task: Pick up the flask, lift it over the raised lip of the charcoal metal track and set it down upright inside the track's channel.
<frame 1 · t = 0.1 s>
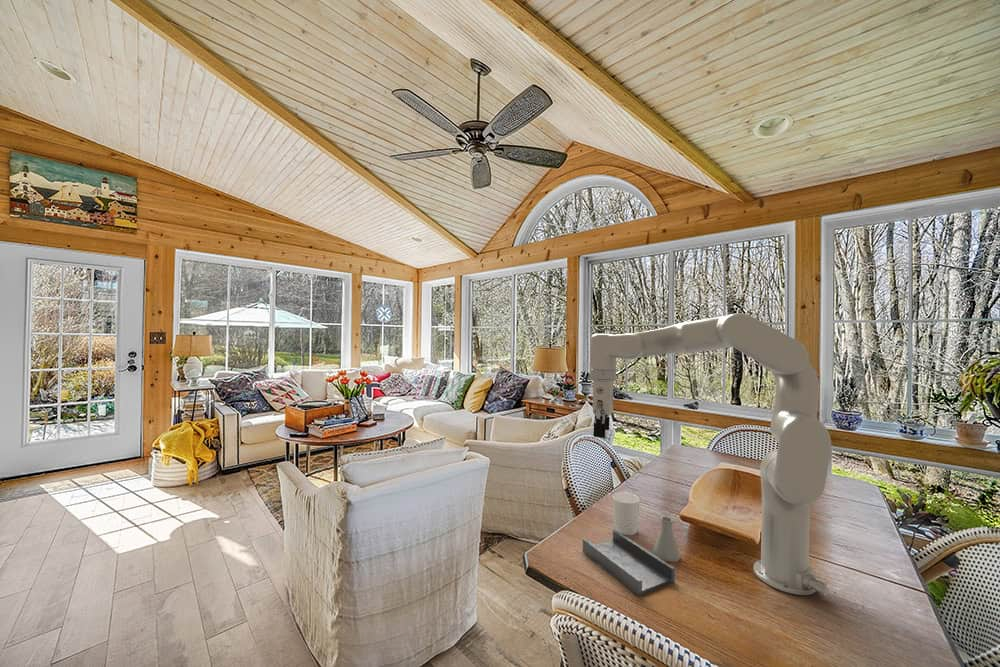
hand: (601, 433, 113), 31 cm above the table, tool pointing down, fingers open, 9 cm apart
flask: (666, 556, 105), on the table
white cup: (625, 530, 119), on the table
track: (625, 566, 100), on the table
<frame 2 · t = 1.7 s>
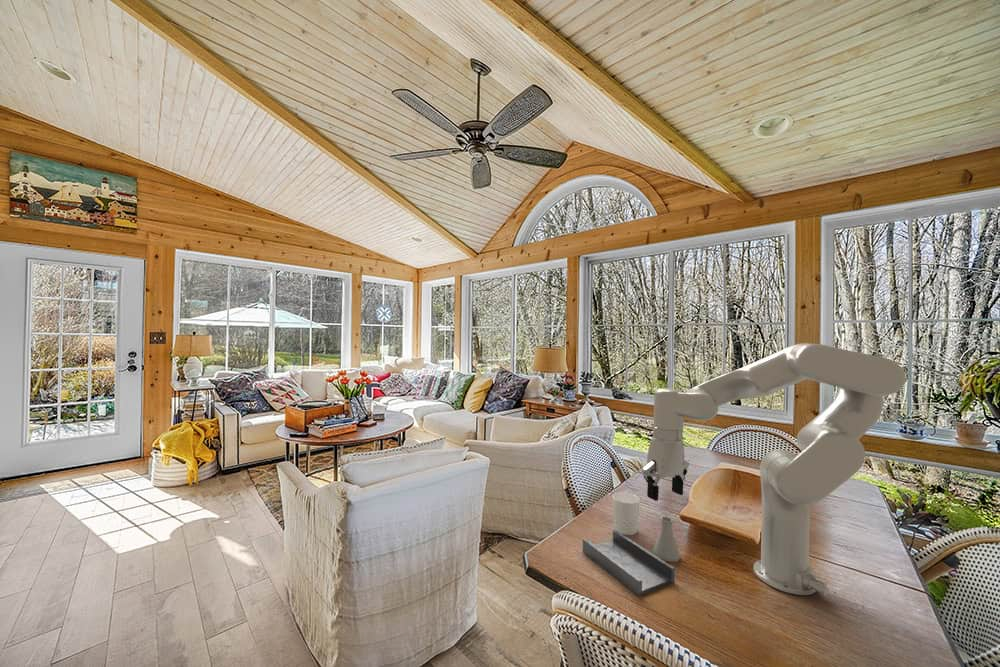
hand: (665, 495, 105), 16 cm above the table, tool pointing down, fingers open, 9 cm apart
nothing on the table moved.
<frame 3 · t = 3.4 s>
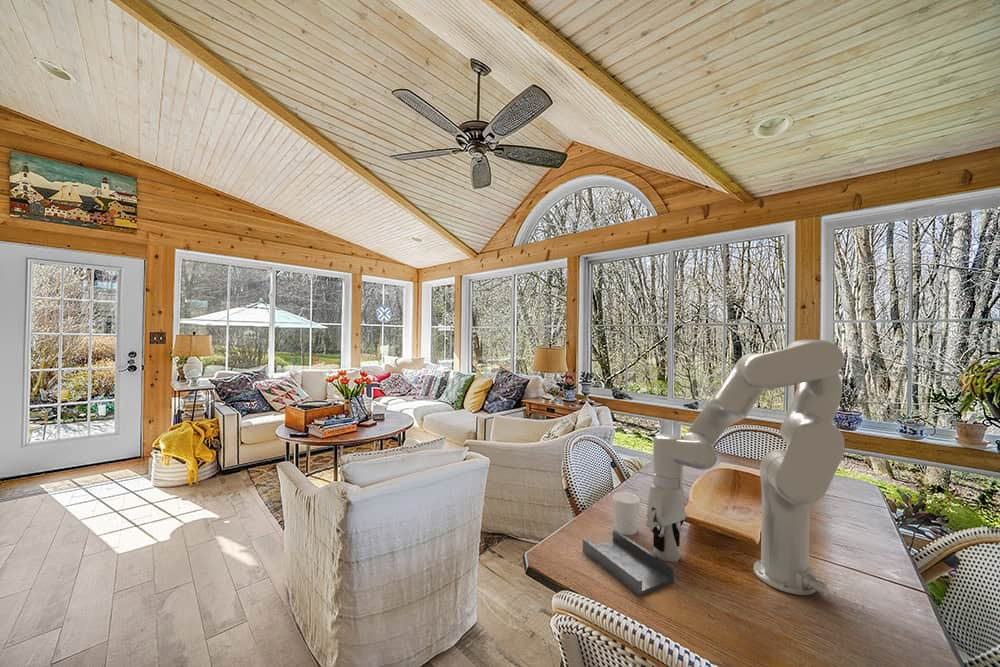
hand: (666, 545, 105), 3 cm above the table, tool pointing down, fingers closed on flask, 5 cm apart
flask: (666, 555, 105), on the table, touching gripper
everything else where it was.
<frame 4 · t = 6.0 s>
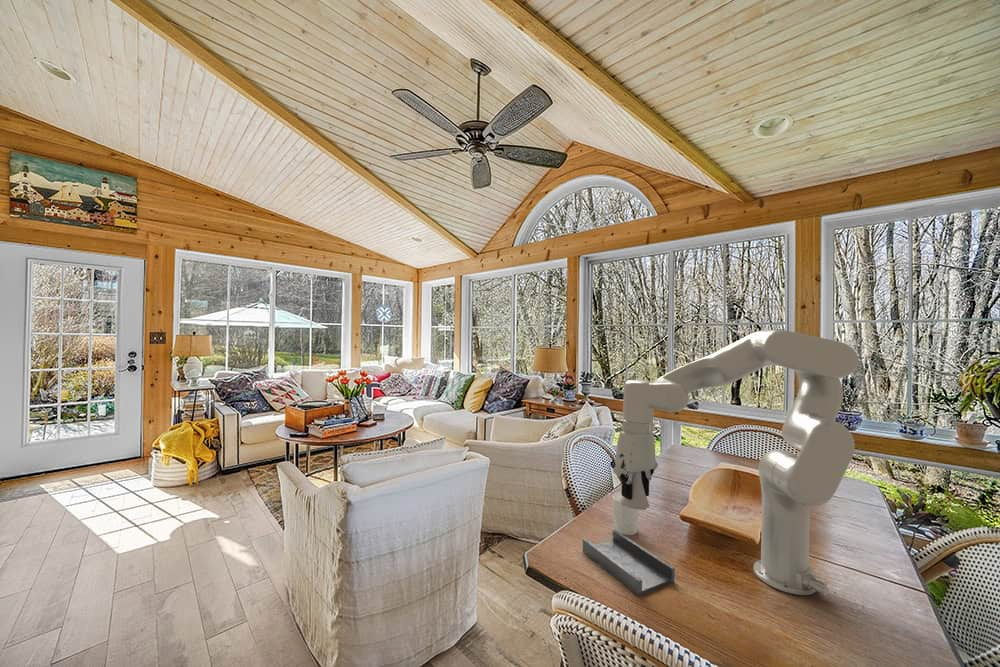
hand: (635, 495, 101), 18 cm above the table, tool pointing down, fingers closed on flask, 5 cm apart
flask: (634, 505, 101), point 15 cm above the table, touching gripper
everything else where it was.
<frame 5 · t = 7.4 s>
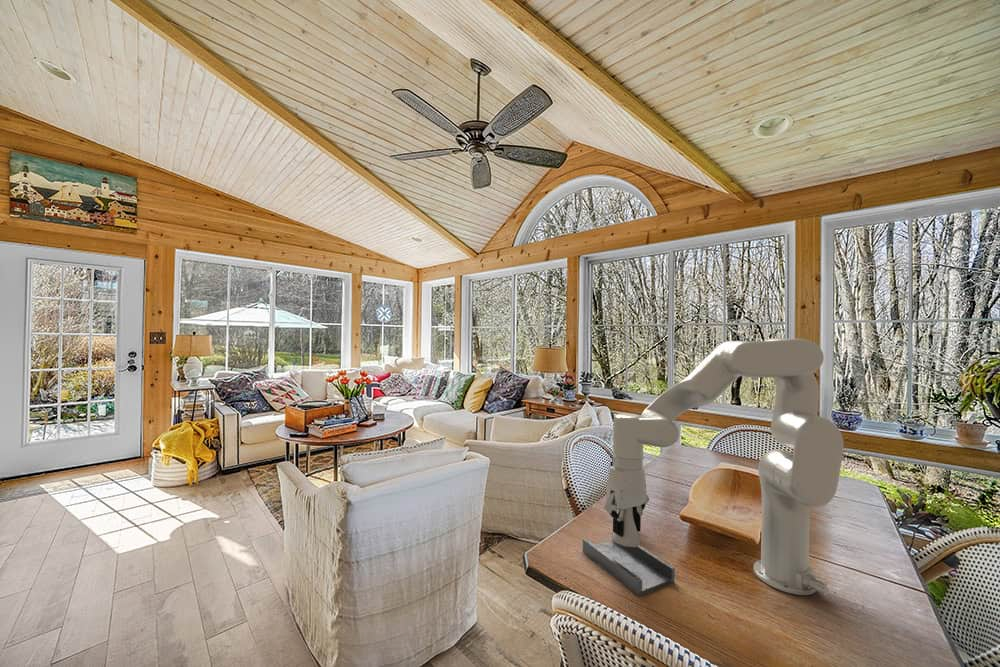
hand: (626, 531, 100), 9 cm above the table, tool pointing down, fingers closed on flask, 5 cm apart
flask: (626, 541, 100), point 6 cm above the table, touching gripper
everything else where it was.
when the fingers open (5 cm above the table, at t = 8.5 s): flask drops 2 cm, resting on track.
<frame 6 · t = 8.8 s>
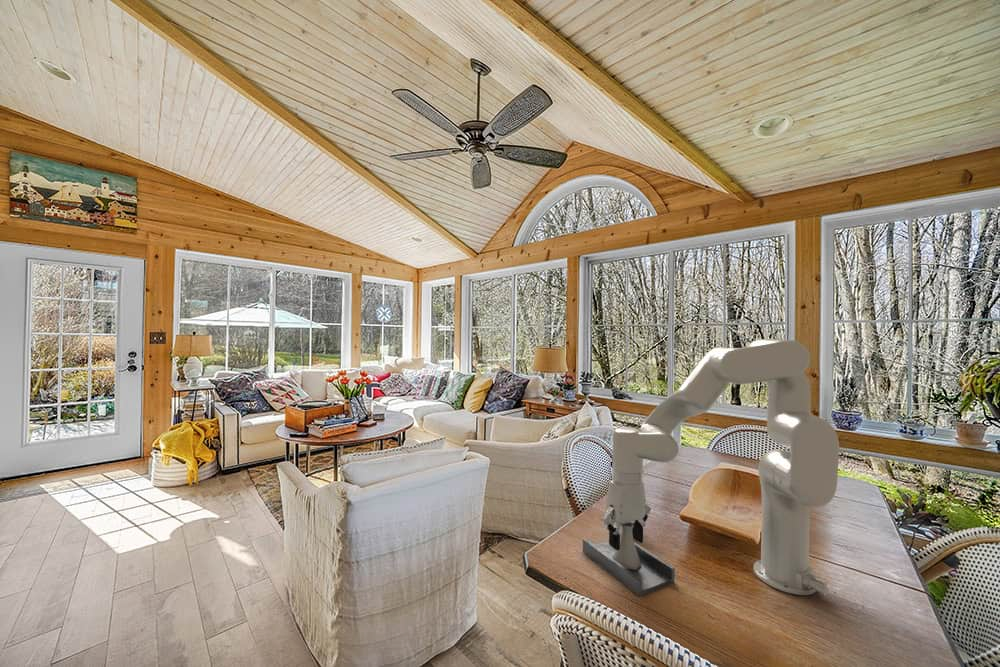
hand: (626, 543, 100), 6 cm above the table, tool pointing down, fingers open, 7 cm apart
flask: (626, 562, 100), point 1 cm above the table, touching track
everything else where it was.
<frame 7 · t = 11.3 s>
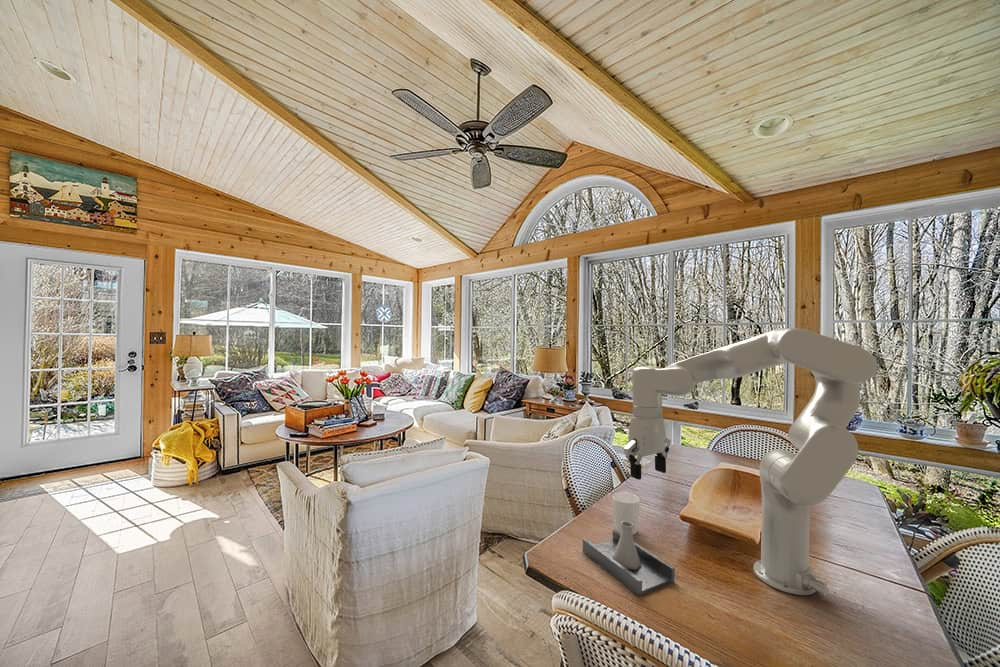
hand: (648, 474, 104), 22 cm above the table, tool pointing down, fingers open, 9 cm apart
nothing on the table moved.
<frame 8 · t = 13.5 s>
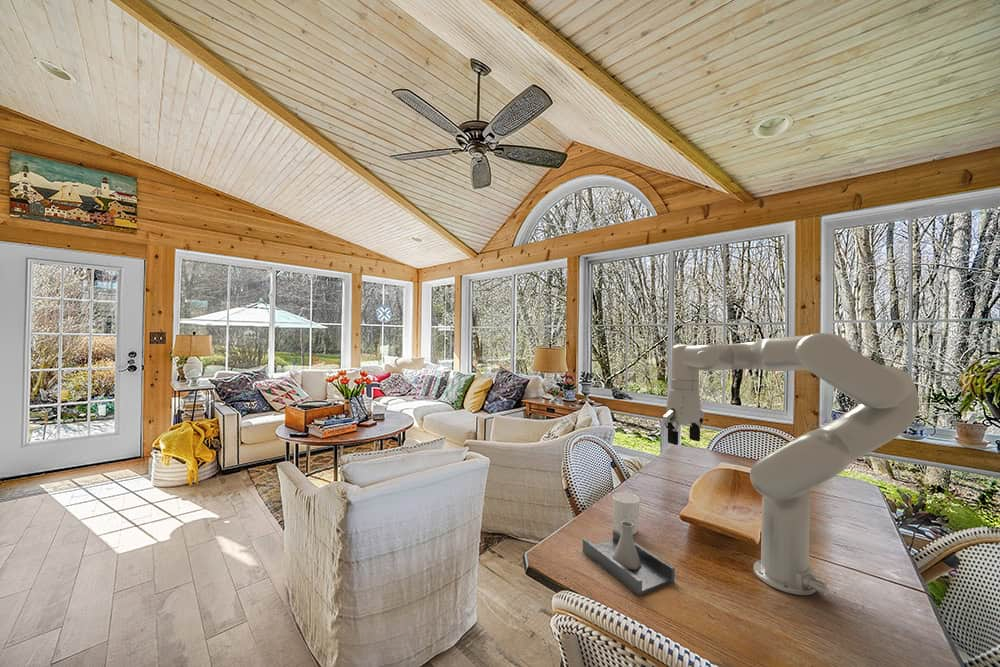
hand: (683, 441, 116), 28 cm above the table, tool pointing down, fingers open, 9 cm apart
nothing on the table moved.
at the end: flask inside the target area on the track (0.2 cm from its centre), point 0.8 cm above the track's base; flask tilted 0°; the gripper is holding nothing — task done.
